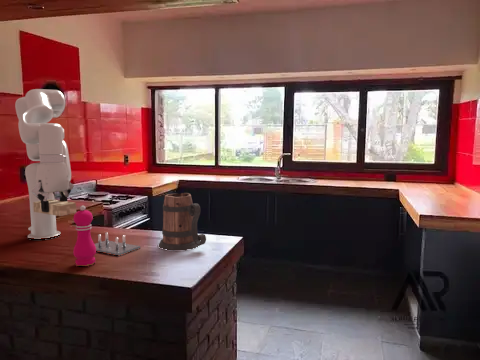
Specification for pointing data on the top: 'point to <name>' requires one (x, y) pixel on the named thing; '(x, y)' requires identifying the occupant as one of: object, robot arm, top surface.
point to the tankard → (180, 223)
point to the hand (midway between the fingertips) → (54, 209)
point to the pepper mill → (84, 238)
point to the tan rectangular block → (56, 207)
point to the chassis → (114, 246)
